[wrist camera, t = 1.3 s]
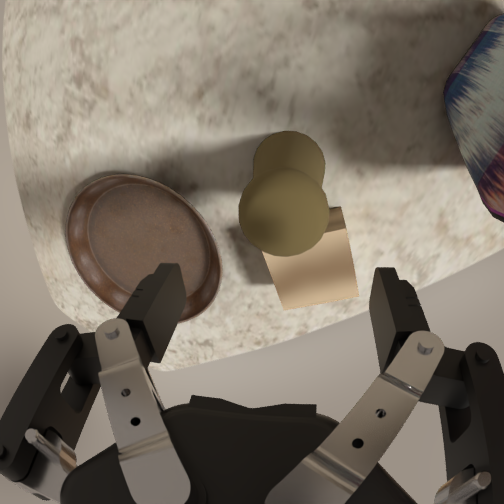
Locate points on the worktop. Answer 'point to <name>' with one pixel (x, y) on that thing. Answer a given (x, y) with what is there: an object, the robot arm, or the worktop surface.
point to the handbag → (481, 113)
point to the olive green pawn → (285, 196)
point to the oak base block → (317, 269)
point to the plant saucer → (140, 240)
